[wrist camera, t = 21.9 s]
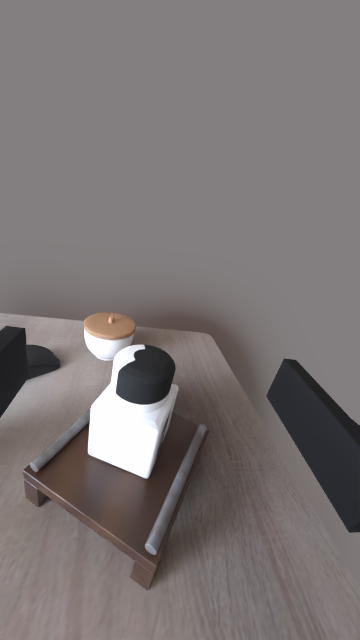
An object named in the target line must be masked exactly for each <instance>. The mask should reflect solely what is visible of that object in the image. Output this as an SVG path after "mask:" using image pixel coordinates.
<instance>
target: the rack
mask: <svg viewBox="0 0 360 640" xmlns="http://www.w3.org/2000/svg"><path fill="white" fill-rule="evenodd" d="M90 413H91V409H90V410H89V411H87V412H86V413H85V414H84V415H83V416H82V417H81V418H80V419H79V420H77V421H76V422H75V423H74V424H73V425H72V426H71V427H70V428H69V429H67V430H66V431H65V432H64V433H63V434H62V435H61V436H60V437H58V438H57V439H56V440H55V441H54V442H53V443H52V444H51V445H50V446H48V447H47V448H46V449H45V450H44V451H43V452H42V453H41V454H40V455H38V456H37V457H36V458H35V459H34V460H33V461H32V462H31V463H30V465H28V466H27V467H26V468H25V469H24V470H23V475H24V484H25V493H26V498H27V499H28V500H30V501H31V502H32V503H34V504H35V505H36V506H37V507H40V505H41V504H42V503H43V502H44V501H45V500H46V499H47V498H48V497H49V498H50V499H52V500H53V501H55V502H56V503H57V504H59V505H60V506H61V507H63V508H64V509H65V510H67V511H68V512H70V513H71V514H72V515H74V516H75V517H76V518H78V519H79V520H80V521H82V522H83V523H84V524H86V525H87V526H89V527H90V528H91V529H93V530H94V531H95V532H97V533H98V534H99V535H101V536H102V537H103V538H105V539H106V540H108V541H109V542H110V543H112V544H113V545H114V546H116V547H117V548H118V549H120V550H121V551H123V552H124V553H125V554H127V555H128V556H129V557H131V558H132V559H133V560H135V562H134V566H133V569H132V573H131V578H132V579H133V580H134V581H136V582H137V583H138V584H140V585H141V586H142V587H144V588H145V589H146V590H149V587H150V584H151V582H152V579H153V577H154V574H155V571H156V569H157V566H158V563H159V561H160V558H161V555H162V553H163V550H164V547H165V545H166V542H167V539H168V537H169V534H170V532H171V529H172V526H173V524H174V521H175V518H176V516H177V513H178V511H179V508H180V505H181V503H182V500H183V498H184V495H185V492H186V490H187V487H188V485H189V482H190V479H191V477H192V474H193V471H194V469H195V466H196V464H197V461H198V459H199V456H200V454H201V451H202V448H203V446H204V443H205V440H206V438H207V435H208V432H209V431H207V430H206V426H205V425H203V424H200V425H199V426H197V425H195V424H194V423H192V422H190V421H188V420H186V419H184V418H182V417H180V416H178V415H176V414H174V413H172V416H171V420H170V423H169V427H168V430H167V432H166V435H165V438H164V440H163V443H162V445H161V448H160V451H159V453H158V456H157V458H156V461H155V464H154V466H153V469H152V471H151V474H150V476H149V478H143V477H141V476H138V475H136V474H134V473H131V472H129V471H127V470H124V469H122V468H120V467H117V466H115V465H112V464H110V463H108V462H105V461H103V460H101V459H98V458H96V457H94V456H91V455H89V454H88V442H89V427H90Z"/></svg>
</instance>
